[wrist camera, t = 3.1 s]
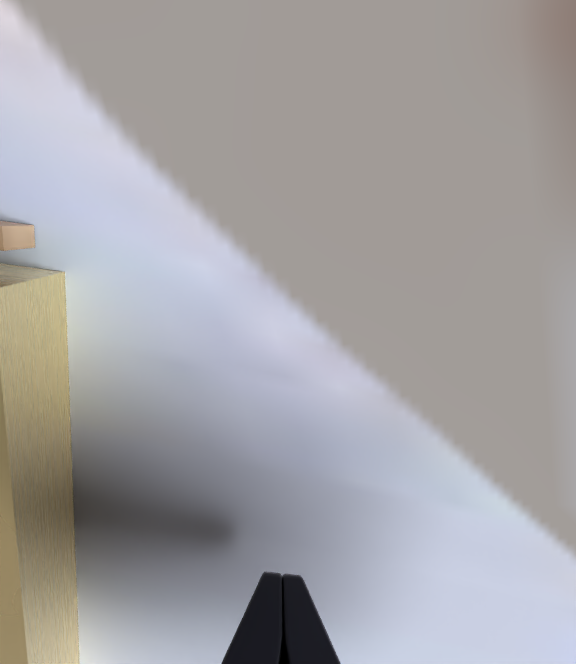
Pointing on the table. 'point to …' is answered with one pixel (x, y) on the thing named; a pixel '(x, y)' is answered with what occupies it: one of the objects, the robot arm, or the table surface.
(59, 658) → the brass hinge plate
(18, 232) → the guide rails
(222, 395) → the table surface
